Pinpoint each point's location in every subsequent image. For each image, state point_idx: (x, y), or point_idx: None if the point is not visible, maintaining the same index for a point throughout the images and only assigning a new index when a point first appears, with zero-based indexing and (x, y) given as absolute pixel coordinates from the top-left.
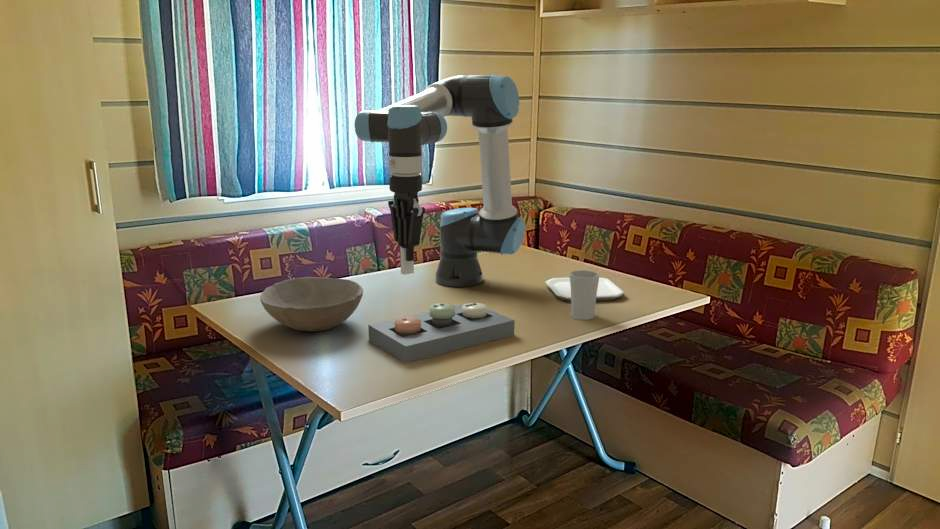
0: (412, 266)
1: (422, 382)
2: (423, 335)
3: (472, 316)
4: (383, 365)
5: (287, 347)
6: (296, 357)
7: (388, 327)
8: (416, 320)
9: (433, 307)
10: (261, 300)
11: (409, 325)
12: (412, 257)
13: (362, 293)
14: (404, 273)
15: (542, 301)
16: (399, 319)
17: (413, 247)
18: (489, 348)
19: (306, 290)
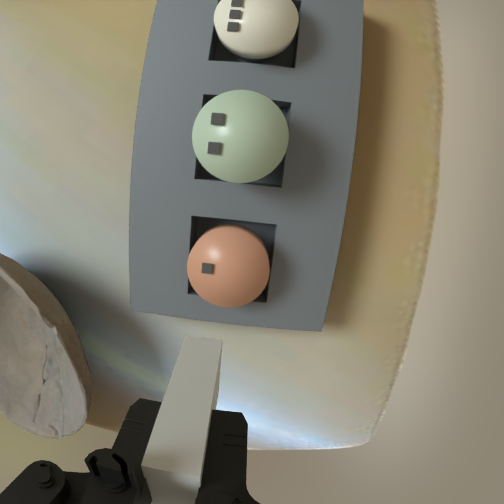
0: (217, 371)
1: (400, 337)
2: (294, 254)
3: (281, 50)
4: (291, 349)
5: (109, 403)
6: None
7: (177, 286)
8: (238, 245)
9: (222, 162)
10: (19, 426)
11: (262, 288)
12: (245, 437)
13: (24, 288)
14: (218, 390)
15: None
16: (197, 278)
17: (249, 496)
18: (382, 111)
19: None
